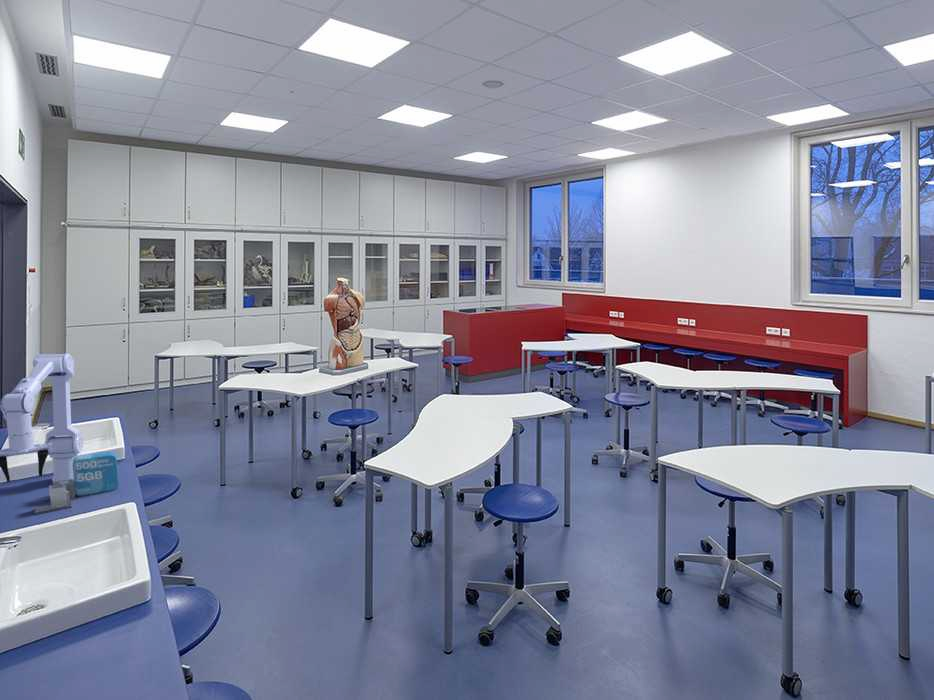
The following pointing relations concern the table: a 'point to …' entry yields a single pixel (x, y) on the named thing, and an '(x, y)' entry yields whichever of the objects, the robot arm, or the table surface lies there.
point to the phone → (48, 508)
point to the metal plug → (58, 495)
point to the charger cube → (68, 487)
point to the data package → (95, 473)
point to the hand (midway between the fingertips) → (24, 478)
